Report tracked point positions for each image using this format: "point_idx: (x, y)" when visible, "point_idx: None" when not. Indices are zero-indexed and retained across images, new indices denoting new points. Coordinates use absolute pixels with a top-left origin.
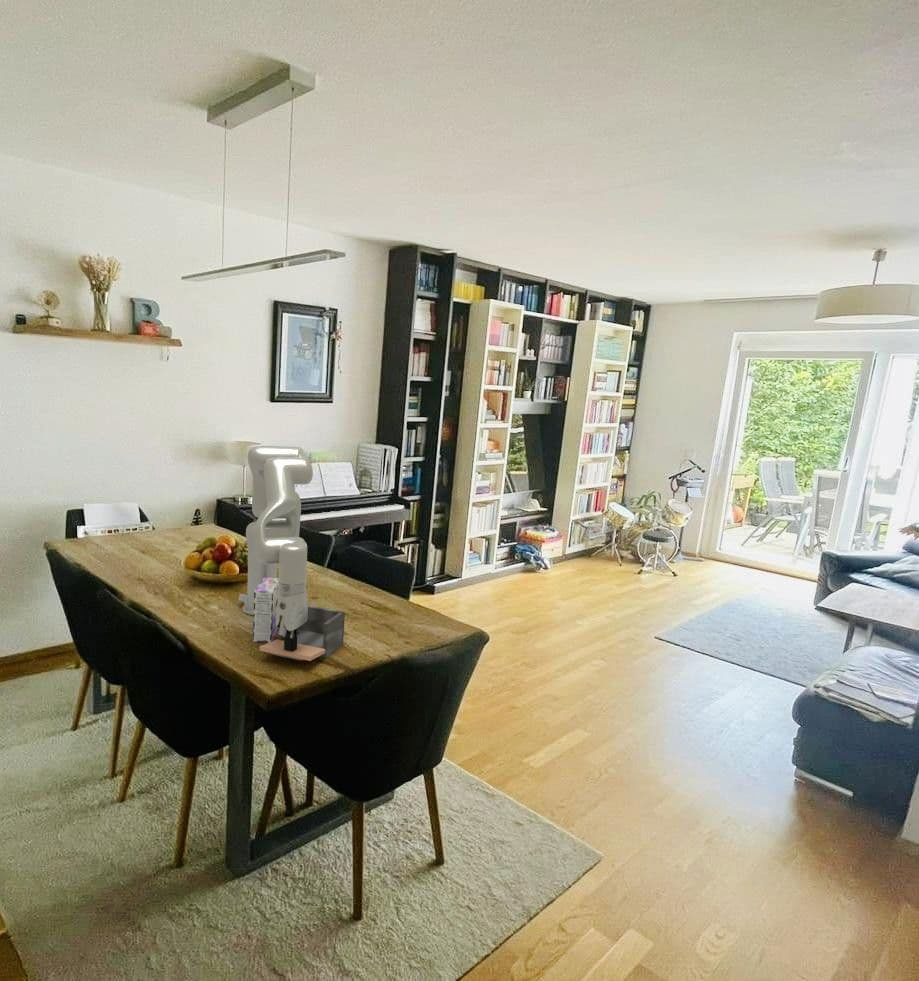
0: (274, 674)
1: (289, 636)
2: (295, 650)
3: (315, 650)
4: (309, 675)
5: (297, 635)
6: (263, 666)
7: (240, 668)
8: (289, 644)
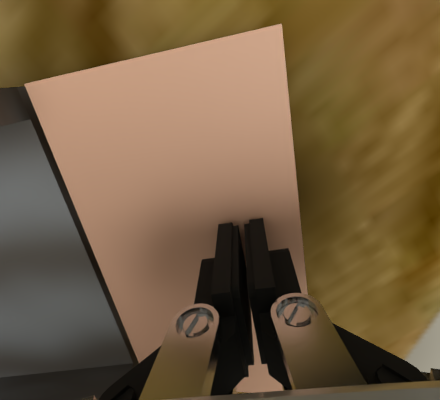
0: (391, 191)
1: (340, 332)
2: (230, 222)
3: (113, 118)
4: (311, 2)
5: (25, 348)
6: (335, 283)
7: (397, 338)
8: (295, 273)
